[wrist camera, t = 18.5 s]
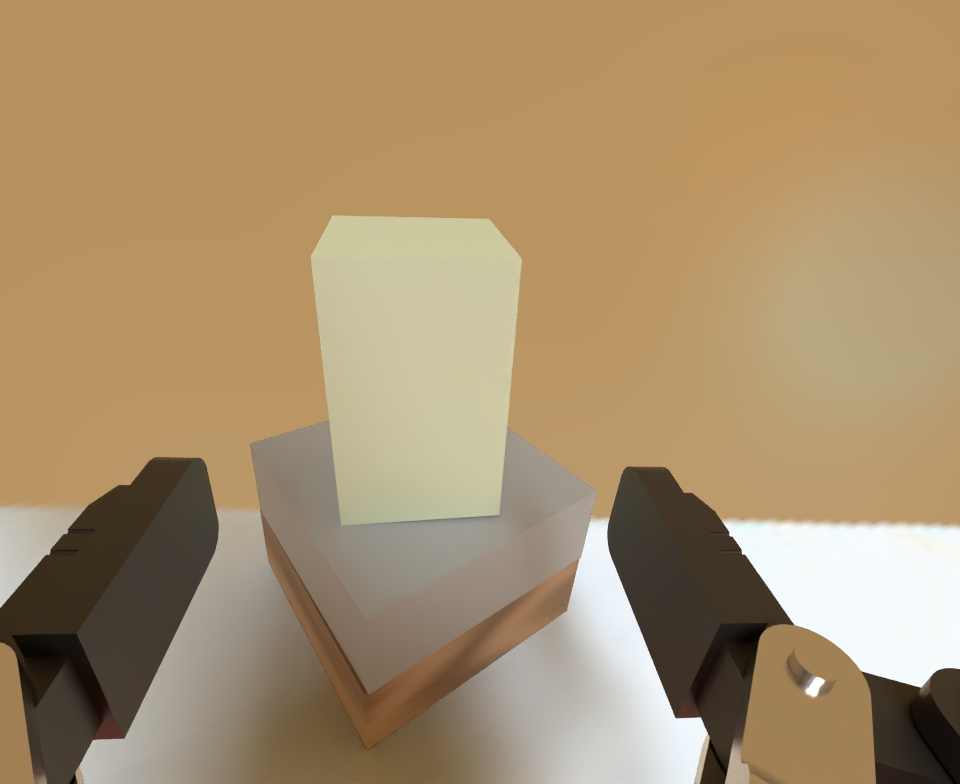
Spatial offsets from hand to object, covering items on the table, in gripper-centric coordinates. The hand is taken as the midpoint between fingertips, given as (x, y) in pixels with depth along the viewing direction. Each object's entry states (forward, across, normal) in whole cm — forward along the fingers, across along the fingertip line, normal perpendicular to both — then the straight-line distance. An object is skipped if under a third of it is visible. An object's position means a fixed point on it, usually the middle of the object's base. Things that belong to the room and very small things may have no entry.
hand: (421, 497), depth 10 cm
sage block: (+10, 0, +7) cm, 12 cm away
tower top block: (+10, 0, +11) cm, 15 cm away
